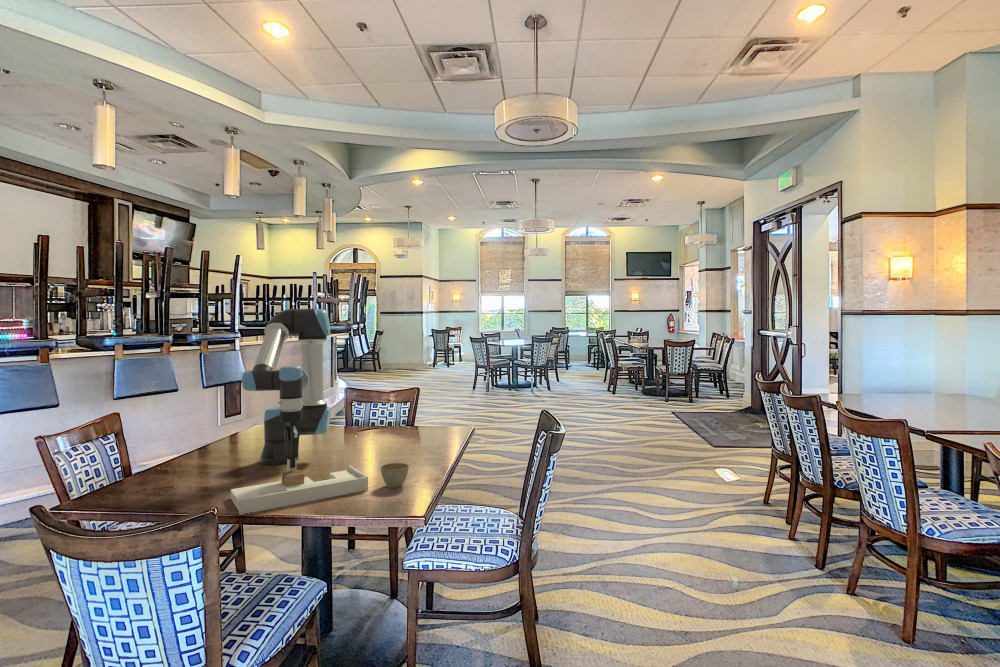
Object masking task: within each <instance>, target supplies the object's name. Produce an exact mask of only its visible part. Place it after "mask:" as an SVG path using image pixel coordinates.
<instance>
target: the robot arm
mask: <svg viewBox="0 0 1000 667" xmlns="http://www.w3.org/2000/svg"><path fill="white" fill-rule="evenodd" d="M329 317H330V316H329V314H328V311H327V310H325V309H323V308H322V309H321V308H288V309H284V310H281V311H280V312H278V313H277V314H275V315H274V316H272V317H271V319H269V320H268V322H267V323H266V325H265V328H264V332H263V333H264V335H265V336H264V337H263V341H262V344H261V346H260V349H259V351H258V354H257V357H256V360H255V362H254V365H253V367H252V369H250V370H245V371H243V373H242V375H241V386H242V388H243V389H244V391H246V392H247V391H249V392H250V391H251V392H264V391H267V392H268V391H279V401H278V402H277V404H278V406H273V407H269V408H266V410H265V411H264V415H263V416H264V419H263V429H264V431H263V432H264V434H263V435H264V438H263V439H264V444H263V448H262V450H261V453H260V457H259V463H260V464H262V465H266V466H267V465H268V466H277V465H287V468H286V469H287V471H286V472H288V471H294V470H297V461H298V460H299V450H300V449H299V445H300V436H311V435H312V436H317V435H318V436H319V435H325V434H326V433H327V432H328V430H329V427H330V422H331V416H332V407H331V406H328V402H327V401H326V400H325V399H324V344H325V343H326V341H327V340H328V338H327V337H329V336H330V335H331V324H330V318H329ZM289 337H297V339H298V340H297V341H298V342H299V343H300V344H301V365H285V366H284V365H283V366H281V367H280V368H279V369H276V368H277V365H278V361H279V358H280V355H281V352H282V349H283V347H284V346H283V345H284V343H285V341H286V340H287V339H288V338H289Z"/></svg>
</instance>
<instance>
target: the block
mask: <svg viewBox="0 0 1000 667" xmlns="http://www.w3.org/2000/svg"><path fill="white" fill-rule="evenodd" d="M304 477H305V473H304V472H303V471H302V470H301V469H296V470H294V471H288V472H287V471H282V472H281V481H282V483H283V484H284V485H285V486H286V487H287V486H293V485H299V484H304Z"/></svg>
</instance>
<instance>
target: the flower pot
mask: <svg viewBox="0 0 1000 667" xmlns="http://www.w3.org/2000/svg"><path fill="white" fill-rule="evenodd" d="M409 467H410V465H409V464H407V463H404V462H391V463H386V464H383V465H380V473H381V477H382V479H383V481H384V483H385V485H386V486H387V488H389V489H396V488H397V487H398V488H401V487H402V486H403V485H404V483H405V480H406V479H407V477H408V473H409Z"/></svg>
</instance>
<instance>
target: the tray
mask: <svg viewBox="0 0 1000 667" xmlns="http://www.w3.org/2000/svg"><path fill="white" fill-rule="evenodd" d="M368 490H369V476H368V475H366V474H364V473H363V472H362V471H360V470H358V469H356V468H355V467H353V466H352V465H347V469H345V470H339V471H334V472H329V479H325V480H319V481H318V480H317V481H314V480H312V479H311V478H310V477H308V476H304V484H299V485H293V486H287V487H286V486H285V485H284V484H283V483H282V480H279V481H274V482H267V483H261V484H256V485H248V486H243V487H236V488H231V489H230V499H231V501H232V503H233V505H234V506H235V507H236V509H237V510H238V515H239V516H240V515H246V514H245V513H247V514H250V512H252V513H256V512H262V511H267V510H271V509H277V508H283V507H287V506H288V507H289V506H292V505H297V504H298V505H299V504H303V503H308V502H313V501H317V500H318V501H319V500H324V499H329V498H333V497H340V496H344V495H350V494H354V493H360V492H365V491H368Z"/></svg>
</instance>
